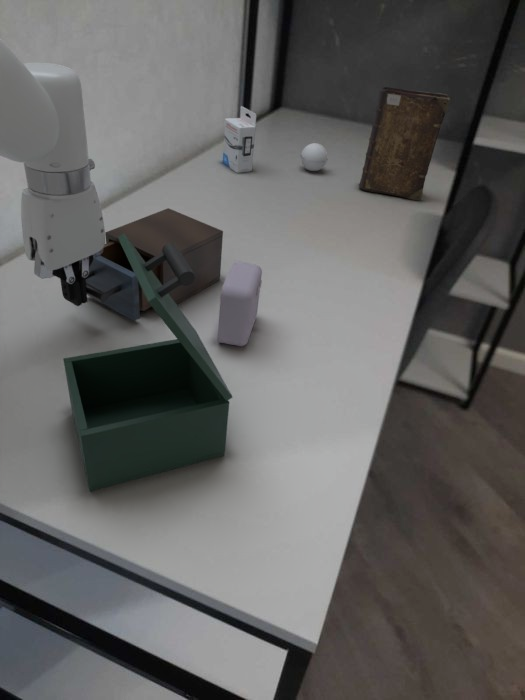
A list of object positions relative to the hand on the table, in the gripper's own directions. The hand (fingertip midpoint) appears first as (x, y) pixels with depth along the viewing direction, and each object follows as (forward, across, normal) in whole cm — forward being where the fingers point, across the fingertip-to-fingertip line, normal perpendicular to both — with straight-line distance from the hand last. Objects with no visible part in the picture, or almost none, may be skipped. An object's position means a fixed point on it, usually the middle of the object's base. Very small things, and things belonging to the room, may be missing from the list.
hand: (75, 300), depth 76 cm
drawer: (+4, -10, 0) cm, 11 cm away
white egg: (+5, -91, -13) cm, 92 cm away
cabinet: (+5, -19, 0) cm, 19 cm away
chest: (+5, +9, +23) cm, 25 cm away
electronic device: (+5, -16, +18) cm, 25 cm away
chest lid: (-11, +6, +25) cm, 28 cm away
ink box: (+5, -77, -28) cm, 82 cm away
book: (+5, -95, +10) cm, 95 cm away
